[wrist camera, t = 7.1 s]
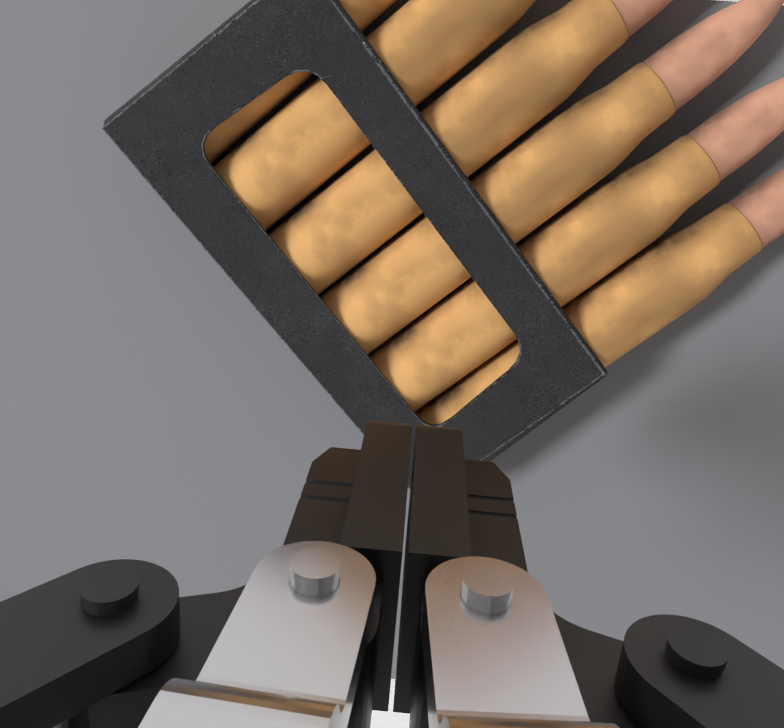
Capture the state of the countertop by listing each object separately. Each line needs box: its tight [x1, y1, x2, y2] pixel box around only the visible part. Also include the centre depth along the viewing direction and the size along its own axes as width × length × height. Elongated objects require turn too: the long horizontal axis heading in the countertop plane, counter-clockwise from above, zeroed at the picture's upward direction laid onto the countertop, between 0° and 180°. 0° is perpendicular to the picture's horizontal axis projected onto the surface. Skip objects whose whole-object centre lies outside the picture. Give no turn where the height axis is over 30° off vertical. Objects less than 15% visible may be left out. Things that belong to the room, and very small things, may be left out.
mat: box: [0, 0, 784, 679], centre depth 18 cm, size 24×18×1 cm
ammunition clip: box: [102, 0, 784, 489], centre depth 15 cm, size 11×2×12 cm
